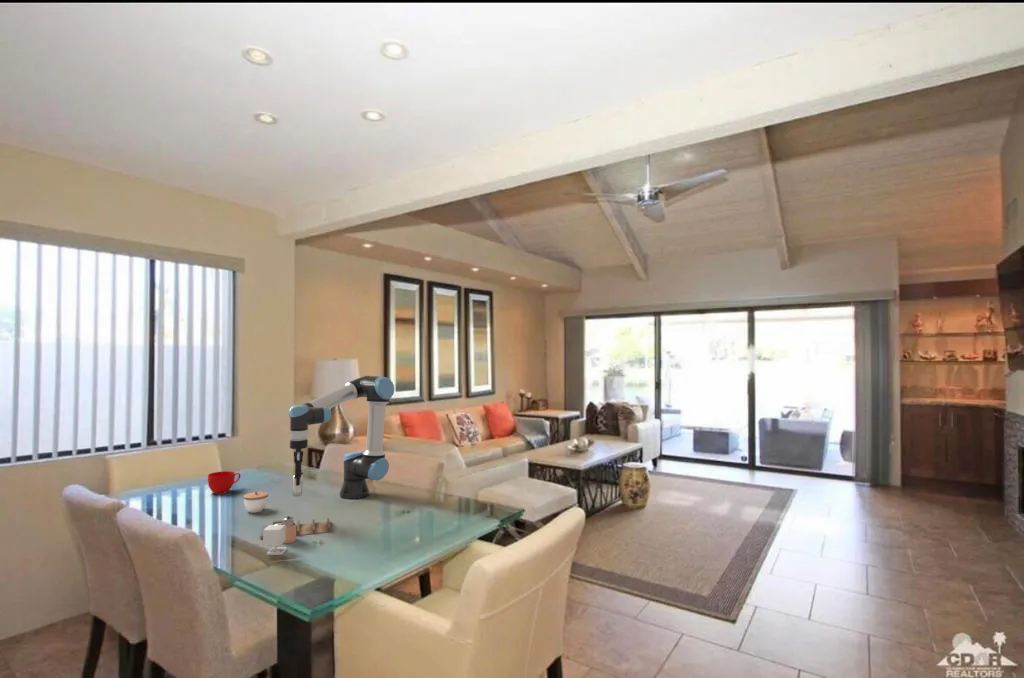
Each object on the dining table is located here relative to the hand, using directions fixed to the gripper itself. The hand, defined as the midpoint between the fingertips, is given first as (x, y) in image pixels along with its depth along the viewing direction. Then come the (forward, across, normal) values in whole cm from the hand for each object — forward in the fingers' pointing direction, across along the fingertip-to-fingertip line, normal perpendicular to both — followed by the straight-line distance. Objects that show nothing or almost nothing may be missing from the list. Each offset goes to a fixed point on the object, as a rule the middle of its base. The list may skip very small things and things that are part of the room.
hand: (297, 490), depth 237 cm
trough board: (+14, +13, +7) cm, 21 cm away
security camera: (+14, +36, -7) cm, 39 cm away
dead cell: (+14, +25, -3) cm, 28 cm away
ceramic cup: (+15, -66, -38) cm, 78 cm away
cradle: (+14, +12, -7) cm, 20 cm away
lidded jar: (+14, -24, -19) cm, 34 cm away
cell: (+2, 0, 0) cm, 2 cm away
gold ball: (+14, +13, -7) cm, 21 cm away
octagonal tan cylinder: (+14, +25, -3) cm, 29 cm away
